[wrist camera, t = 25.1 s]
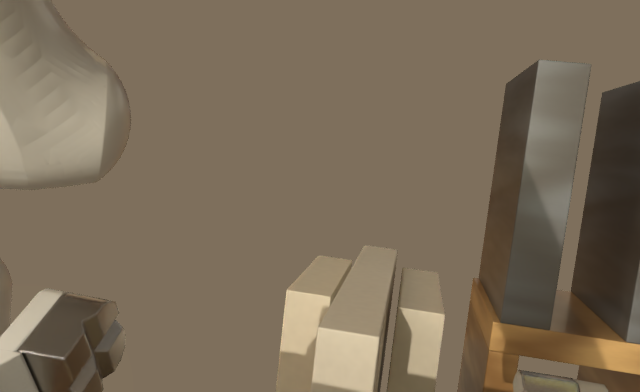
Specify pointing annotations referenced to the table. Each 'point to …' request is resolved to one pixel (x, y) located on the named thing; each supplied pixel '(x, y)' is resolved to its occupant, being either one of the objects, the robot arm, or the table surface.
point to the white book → (356, 327)
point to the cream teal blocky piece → (409, 336)
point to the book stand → (559, 238)
